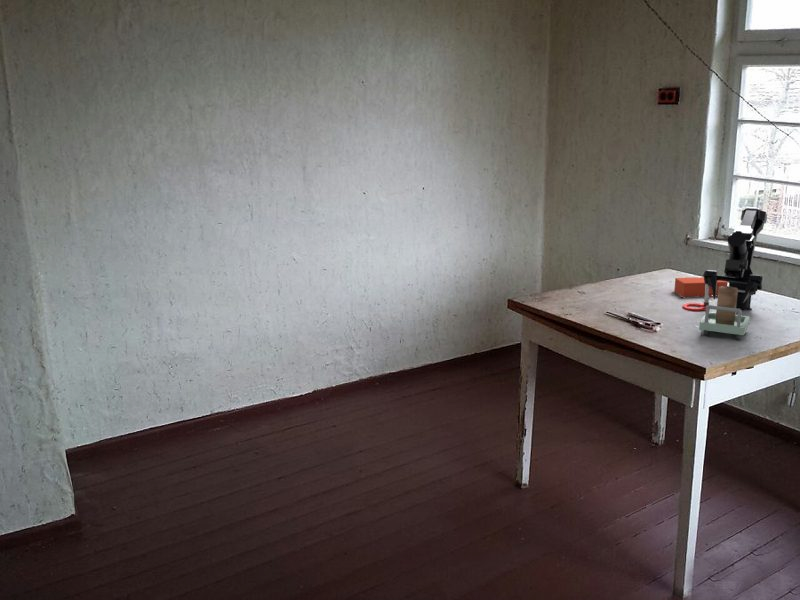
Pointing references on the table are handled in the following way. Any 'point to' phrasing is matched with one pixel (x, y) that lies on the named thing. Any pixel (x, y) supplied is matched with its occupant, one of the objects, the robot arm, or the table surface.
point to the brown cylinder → (726, 305)
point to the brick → (694, 286)
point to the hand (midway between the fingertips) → (728, 300)
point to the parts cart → (737, 328)
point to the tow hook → (702, 306)
